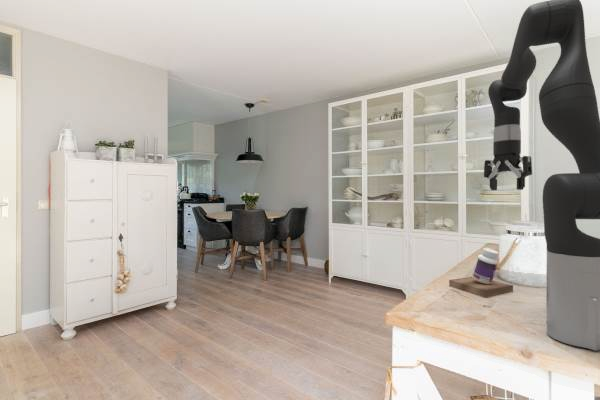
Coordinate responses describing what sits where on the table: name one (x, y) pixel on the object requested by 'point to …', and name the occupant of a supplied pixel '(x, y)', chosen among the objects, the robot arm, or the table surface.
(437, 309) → the table surface
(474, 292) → the walnut block
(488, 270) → the pill bottle
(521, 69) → the robot arm
